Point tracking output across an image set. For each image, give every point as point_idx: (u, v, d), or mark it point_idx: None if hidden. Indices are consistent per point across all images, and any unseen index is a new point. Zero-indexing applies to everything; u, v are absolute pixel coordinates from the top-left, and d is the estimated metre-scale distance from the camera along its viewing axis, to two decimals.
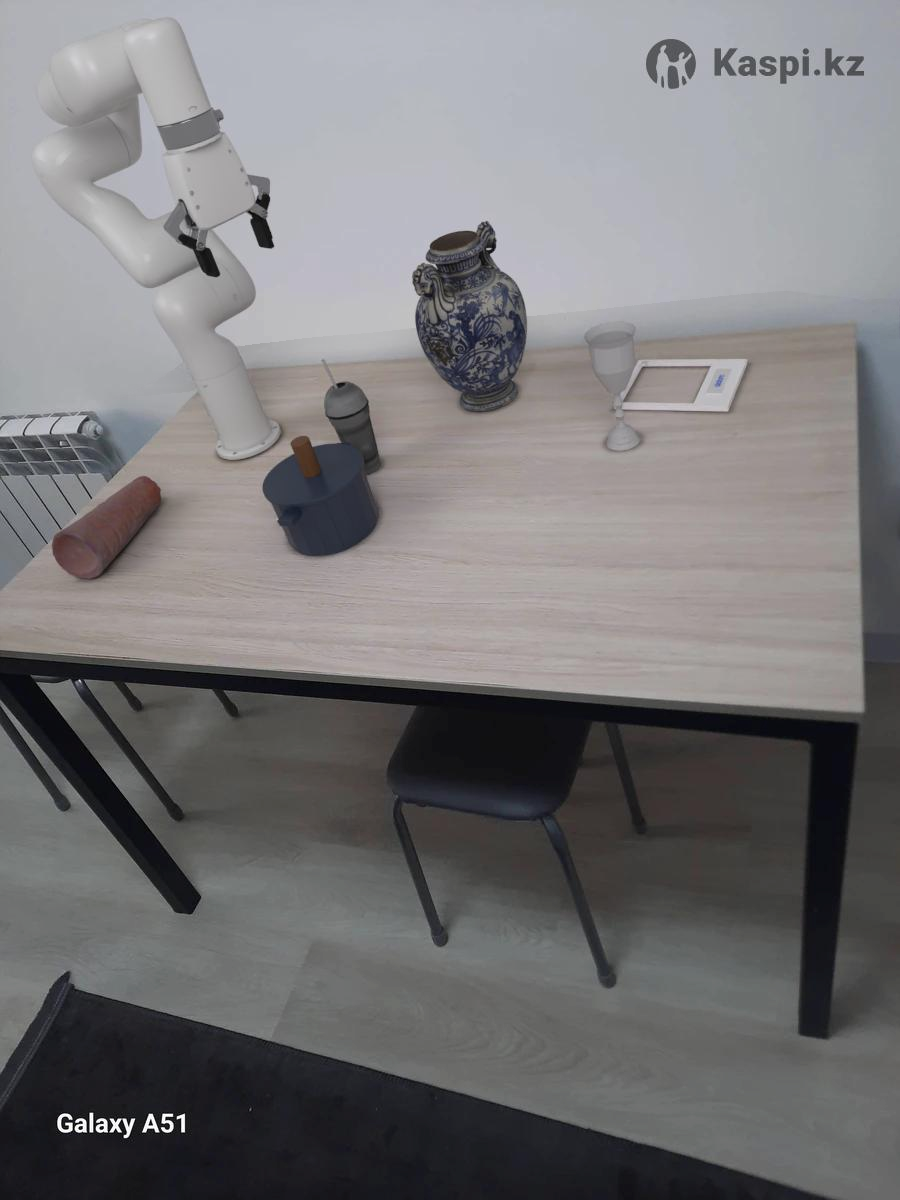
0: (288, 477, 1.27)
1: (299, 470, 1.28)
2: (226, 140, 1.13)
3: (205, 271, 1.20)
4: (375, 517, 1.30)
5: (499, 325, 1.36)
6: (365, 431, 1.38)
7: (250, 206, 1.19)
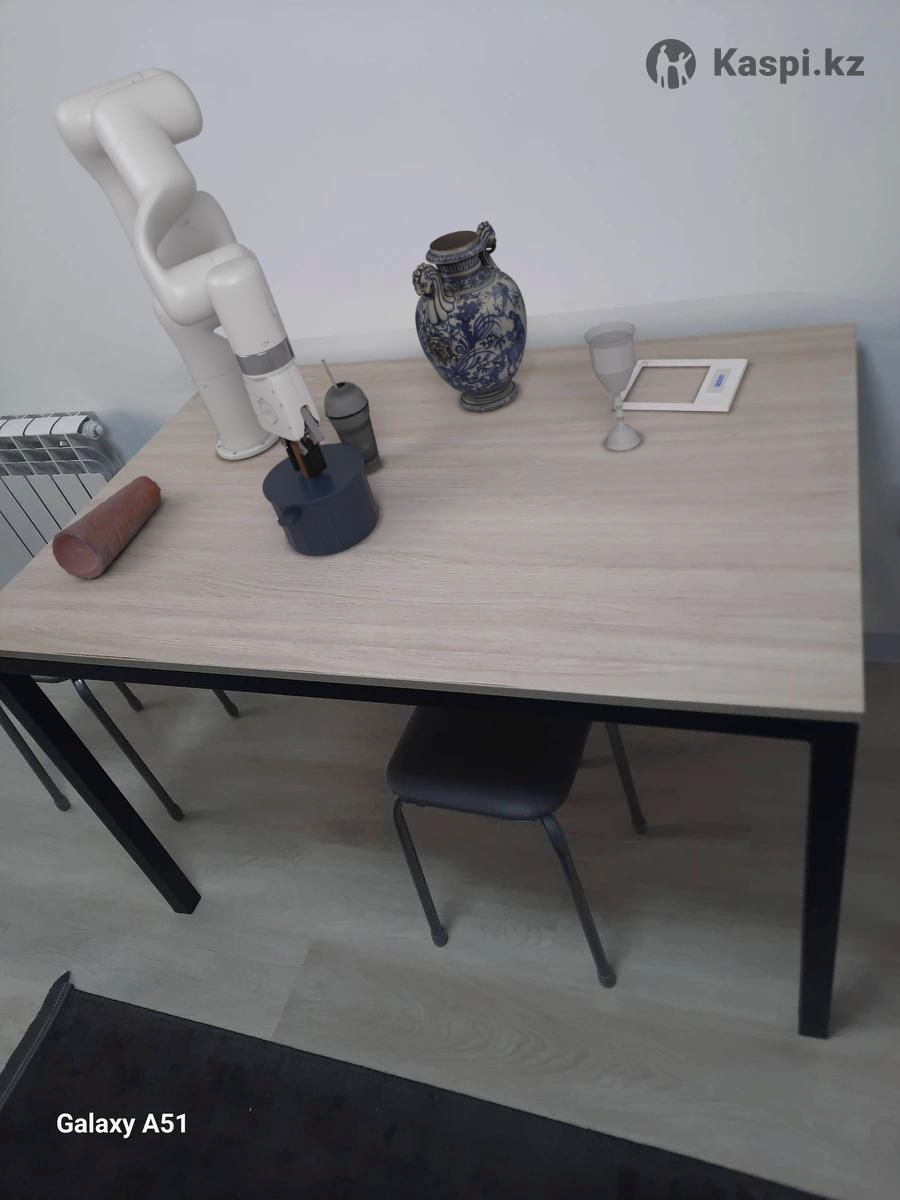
0: (288, 477, 1.27)
1: None
2: None
3: (320, 467, 1.24)
4: (375, 517, 1.30)
5: (499, 325, 1.36)
6: (365, 431, 1.38)
7: None
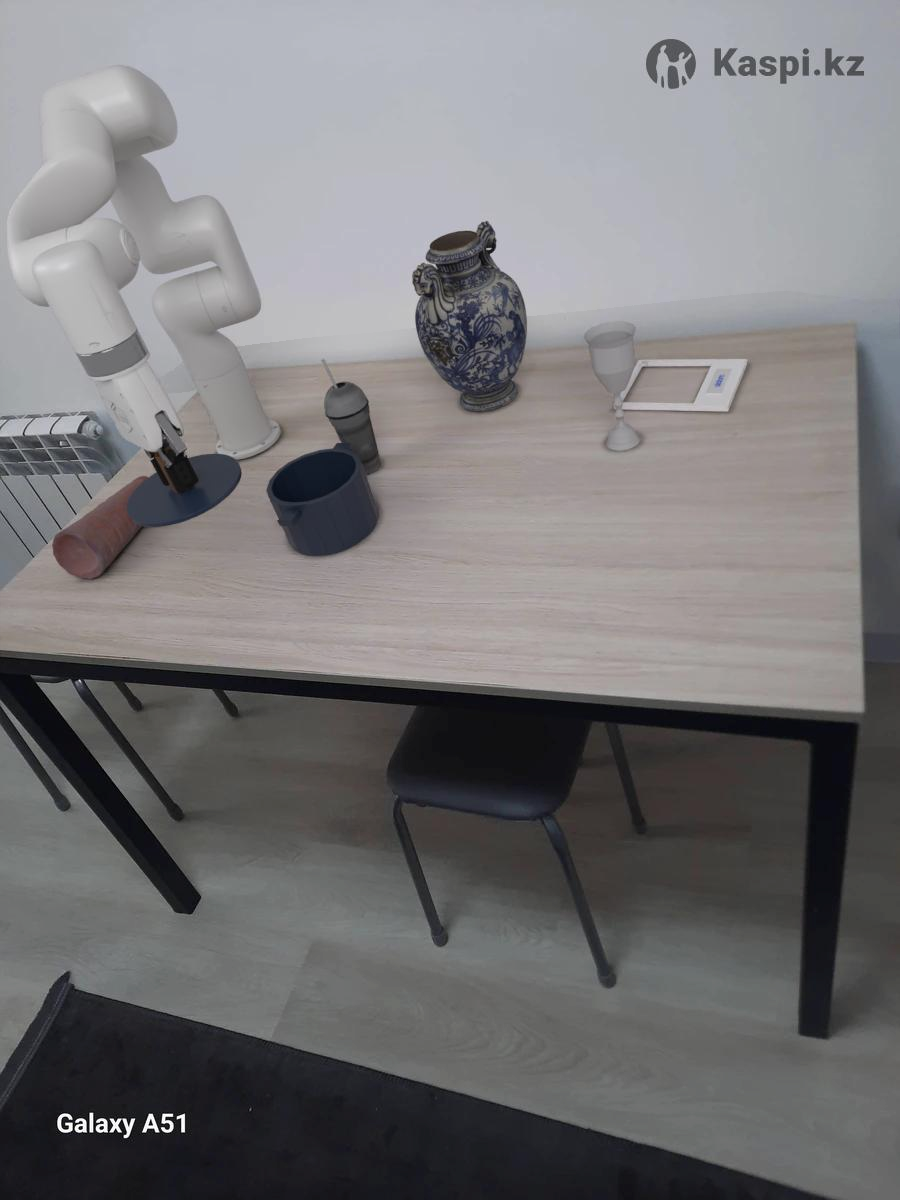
0: (157, 492, 1.13)
1: (170, 484, 1.13)
2: None
3: (189, 481, 1.09)
4: (375, 517, 1.30)
5: (499, 325, 1.36)
6: (365, 431, 1.38)
7: None
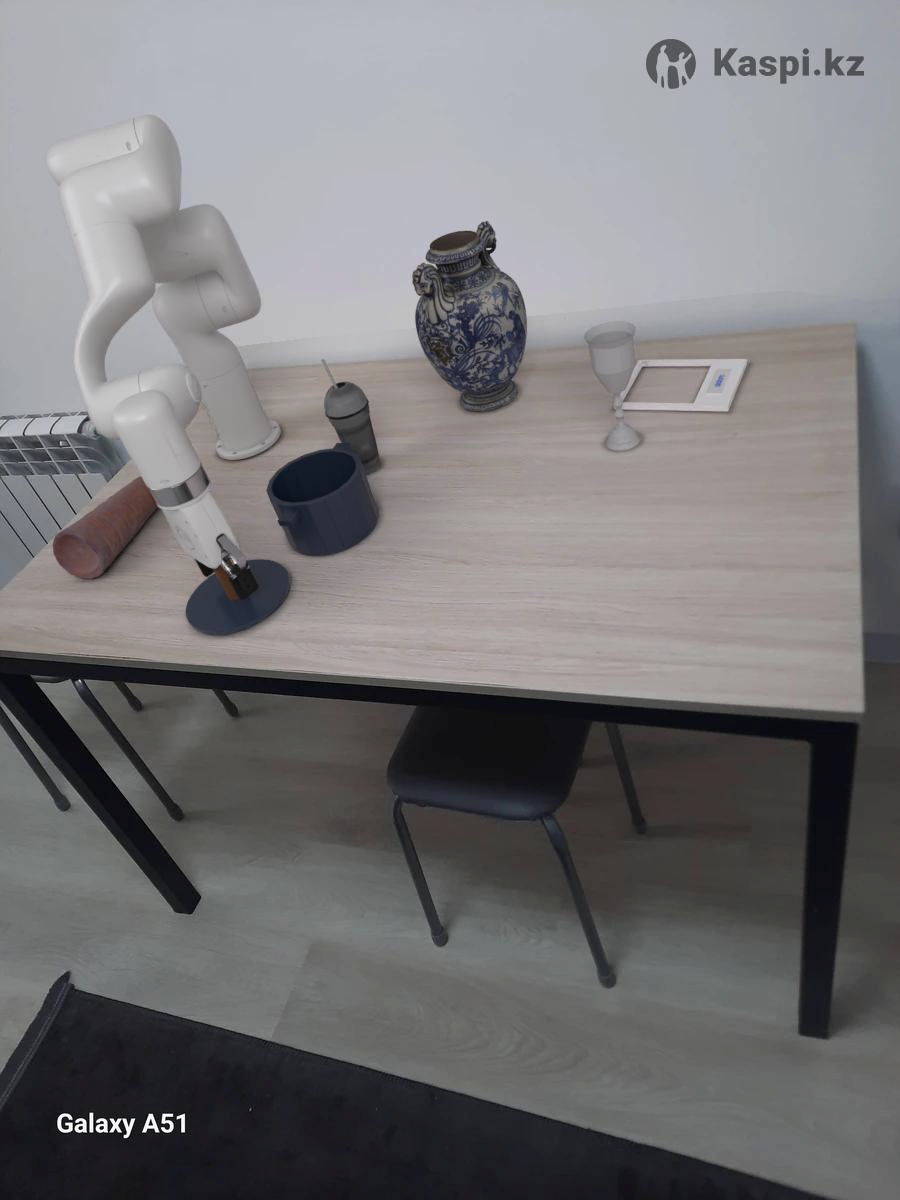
0: (212, 598, 1.24)
1: None
2: None
3: (251, 589, 1.18)
4: (375, 517, 1.30)
5: (499, 325, 1.36)
6: (365, 431, 1.38)
7: None
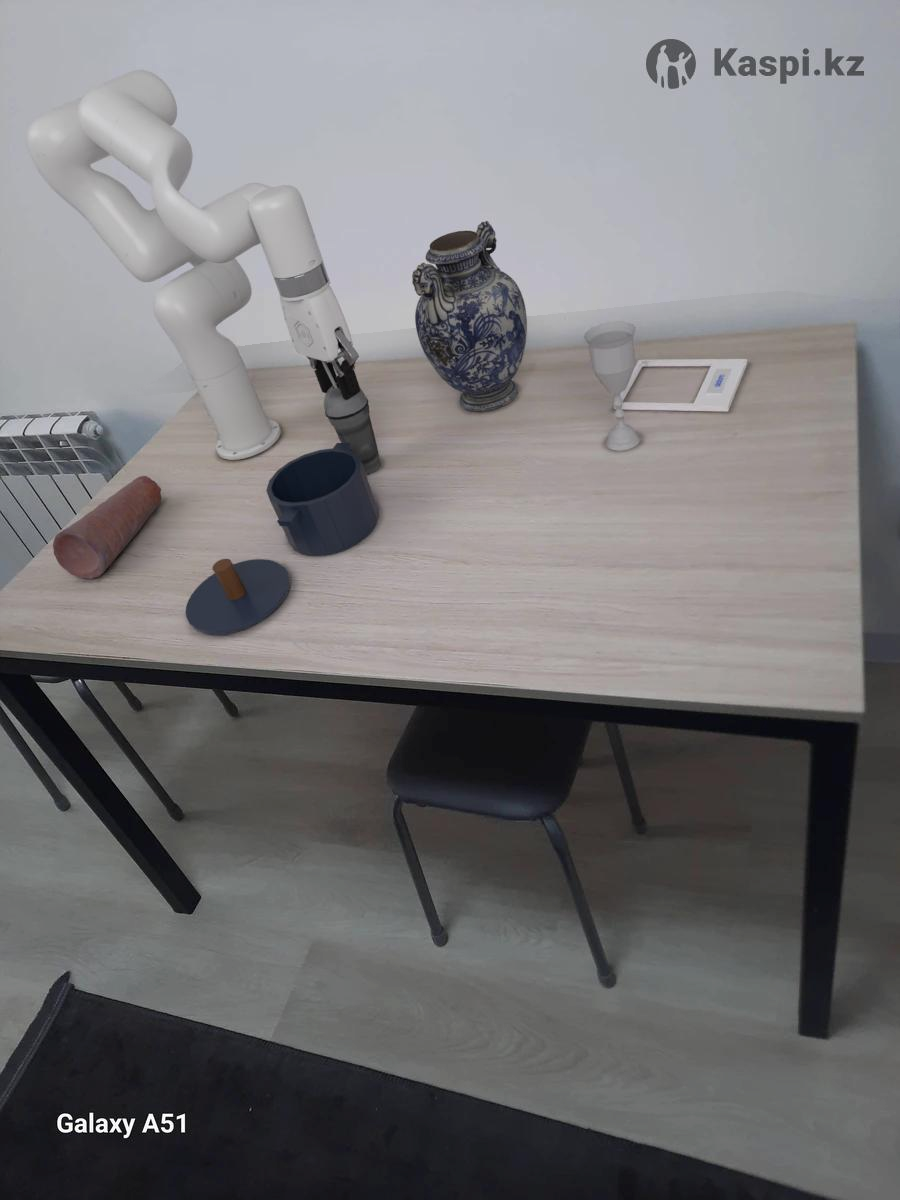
0: (212, 598, 1.24)
1: None
2: None
3: (355, 389, 1.32)
4: (375, 517, 1.30)
5: (499, 325, 1.36)
6: (365, 431, 1.38)
7: None
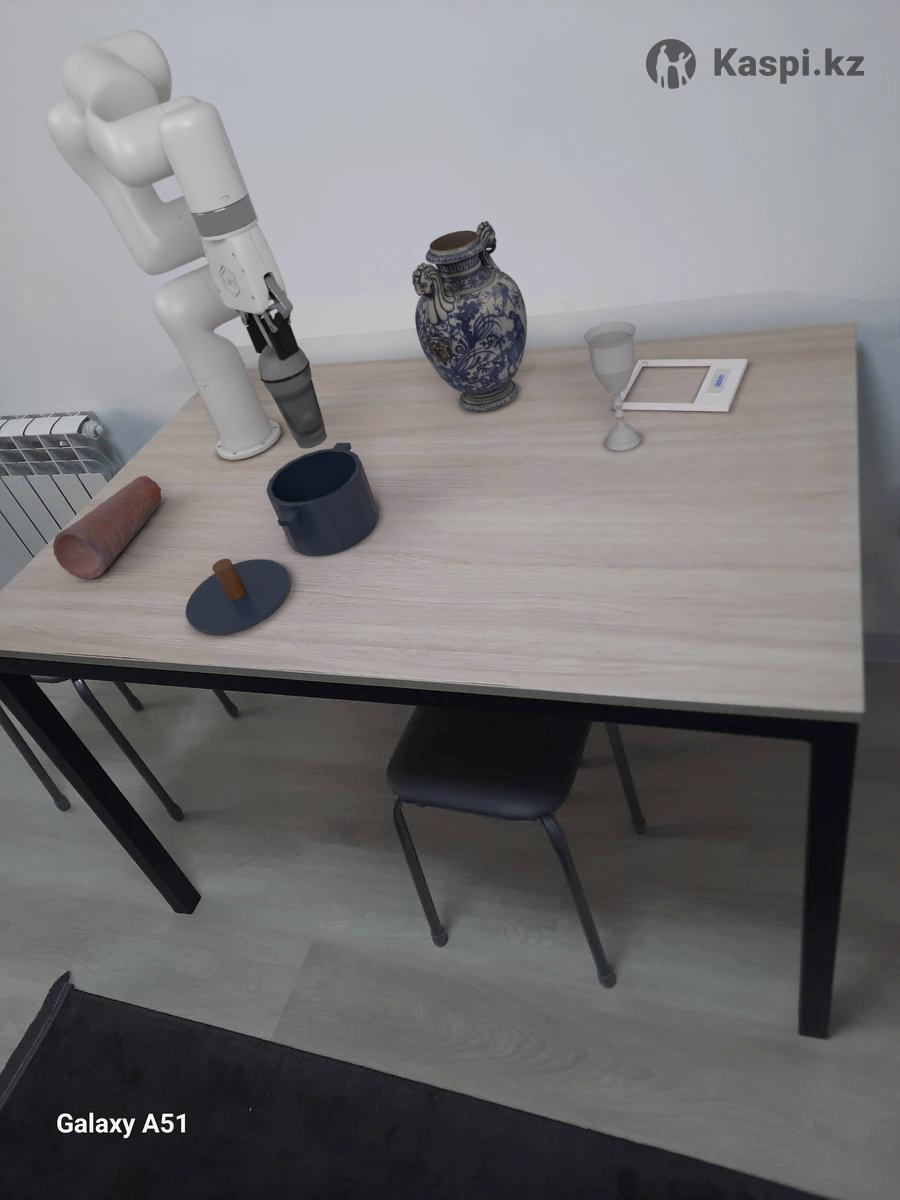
0: (212, 598, 1.24)
1: None
2: None
3: (292, 348, 1.15)
4: (375, 517, 1.30)
5: (499, 325, 1.36)
6: (307, 397, 1.20)
7: None
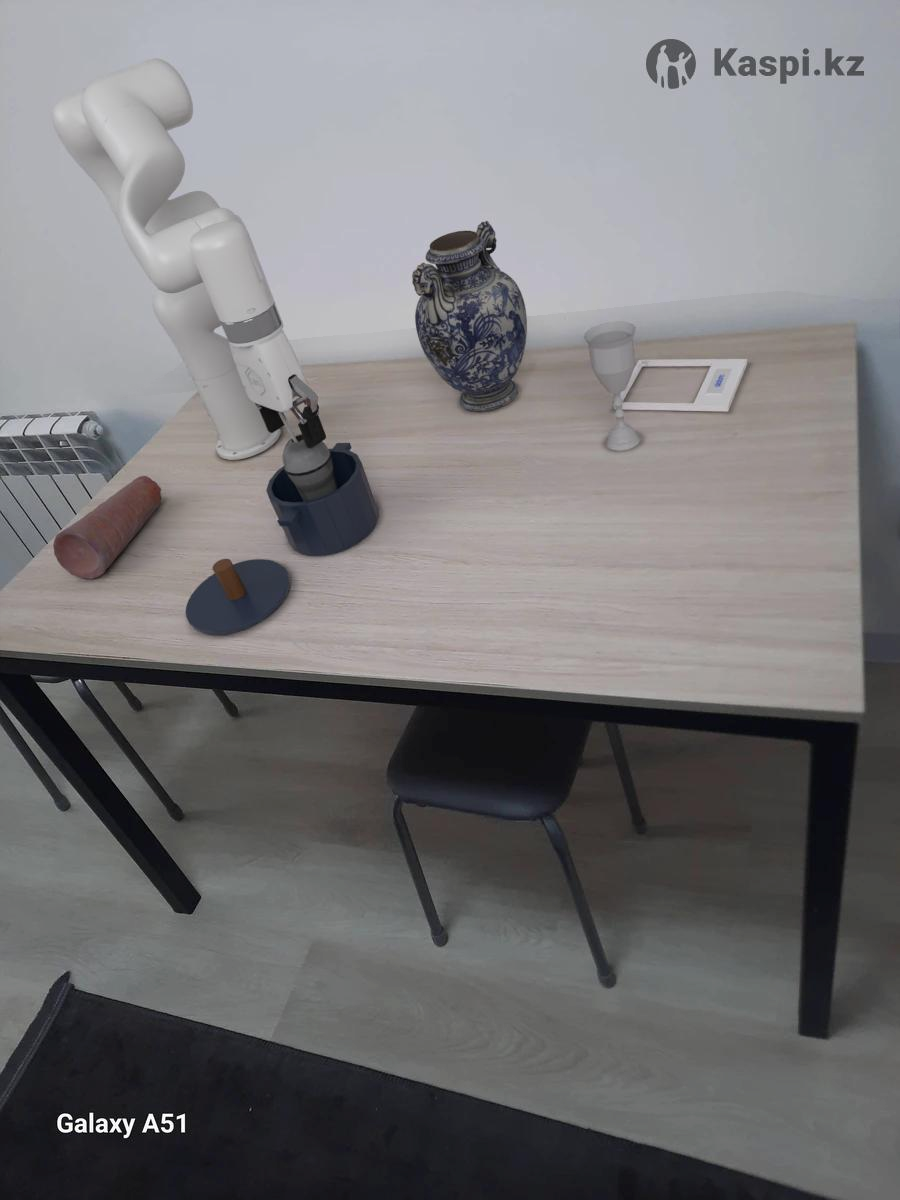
0: (212, 598, 1.24)
1: None
2: None
3: (319, 437, 1.19)
4: (375, 517, 1.30)
5: (499, 325, 1.36)
6: (328, 487, 1.26)
7: None
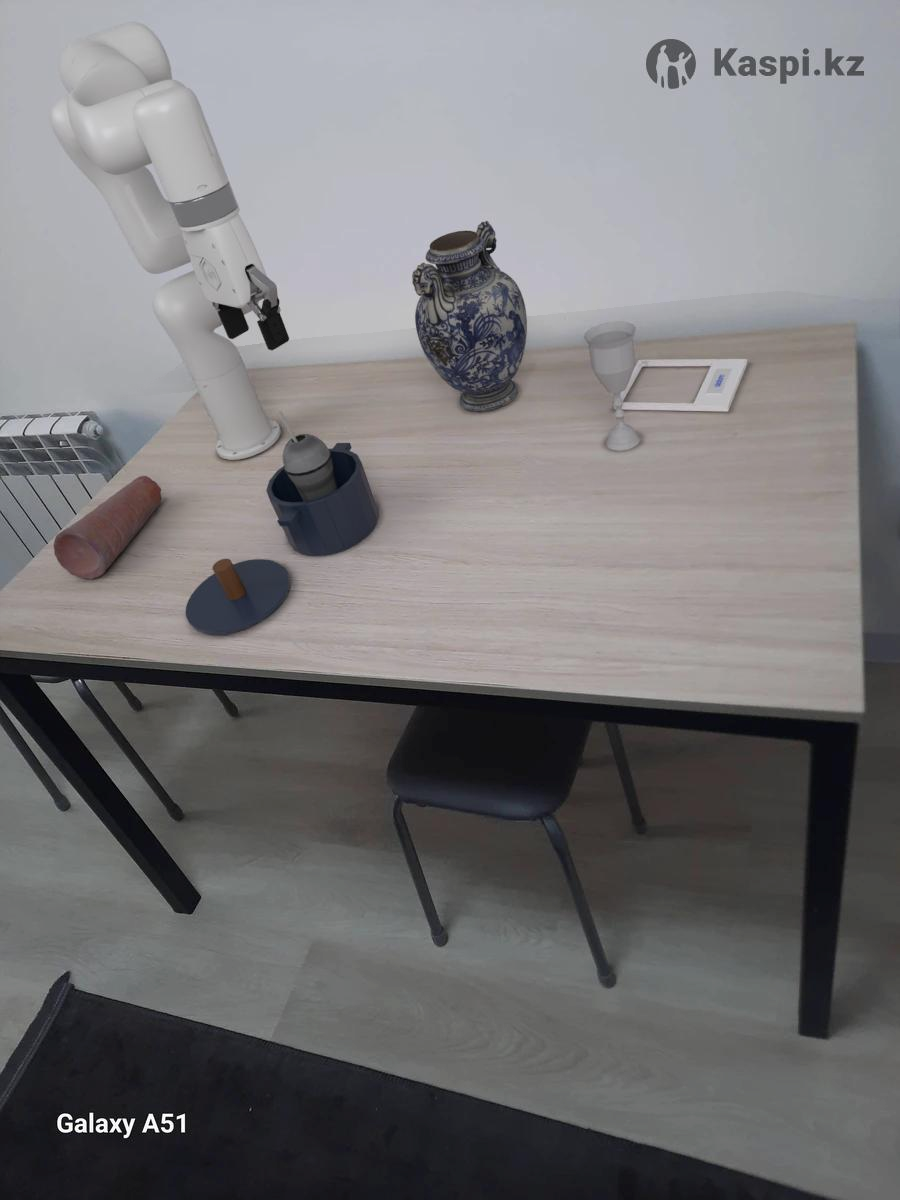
0: (212, 598, 1.24)
1: None
2: None
3: (281, 338, 1.09)
4: (375, 517, 1.30)
5: (499, 325, 1.36)
6: (328, 487, 1.26)
7: None
